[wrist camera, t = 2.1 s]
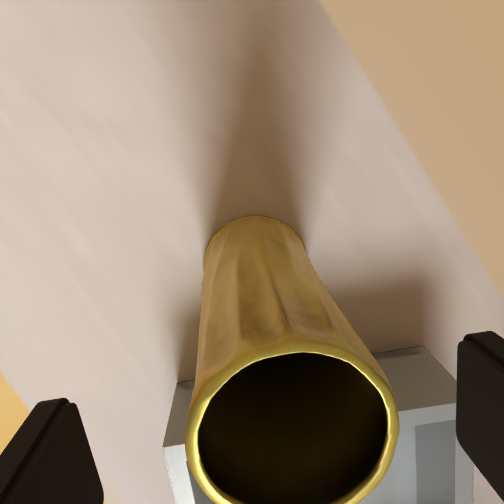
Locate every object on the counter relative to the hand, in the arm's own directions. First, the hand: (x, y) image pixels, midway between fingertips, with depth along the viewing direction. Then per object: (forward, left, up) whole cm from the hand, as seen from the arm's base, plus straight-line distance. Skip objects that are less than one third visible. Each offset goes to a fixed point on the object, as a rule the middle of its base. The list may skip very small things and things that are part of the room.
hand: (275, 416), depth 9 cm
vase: (0, +1, -14) cm, 14 cm away
